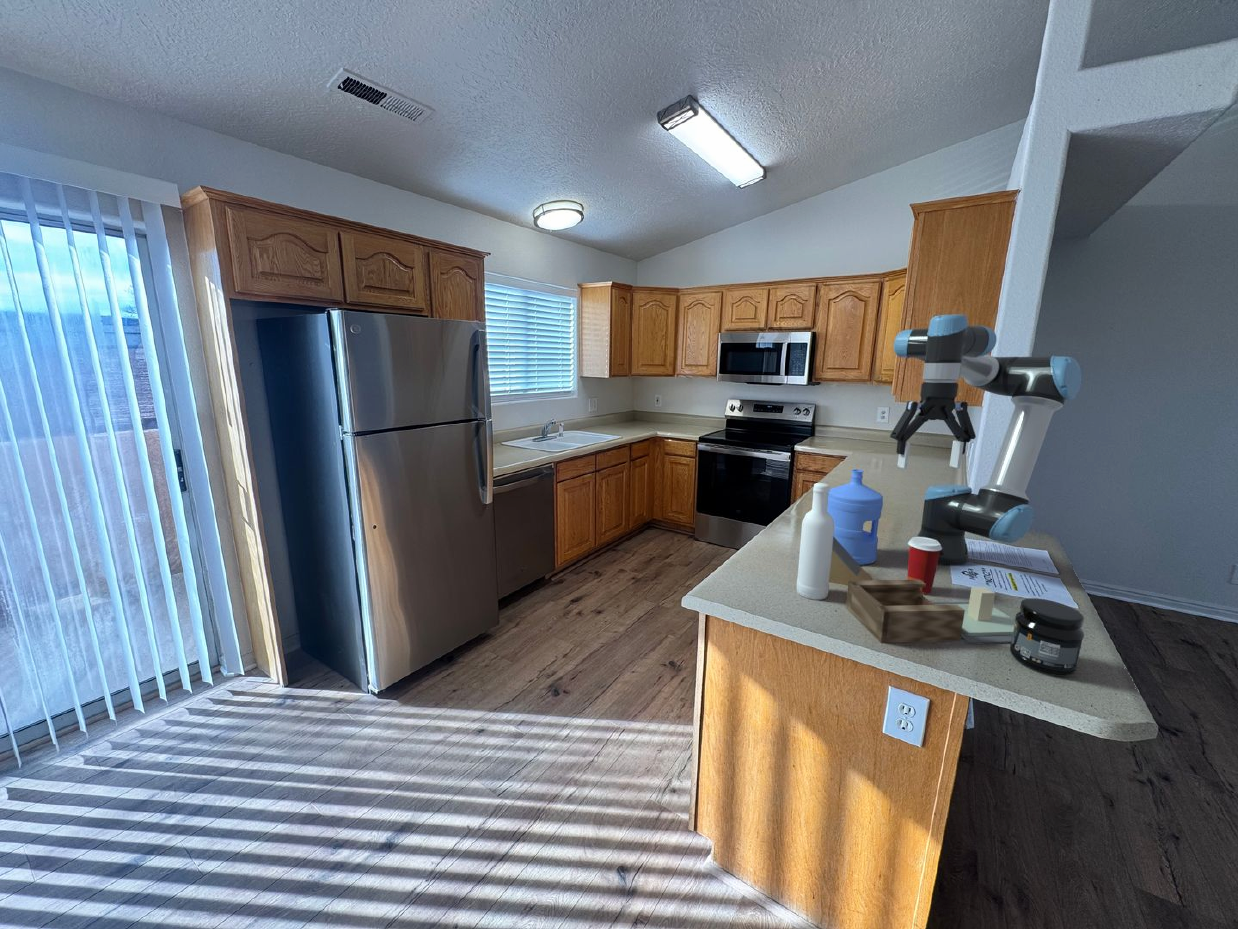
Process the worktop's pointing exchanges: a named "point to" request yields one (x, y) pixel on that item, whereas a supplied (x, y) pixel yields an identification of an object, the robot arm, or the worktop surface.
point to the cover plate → (987, 626)
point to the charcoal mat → (981, 638)
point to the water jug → (856, 517)
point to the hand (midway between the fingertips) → (928, 467)
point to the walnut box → (902, 612)
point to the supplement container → (1047, 636)
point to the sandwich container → (844, 566)
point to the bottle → (816, 547)
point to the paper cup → (923, 561)
